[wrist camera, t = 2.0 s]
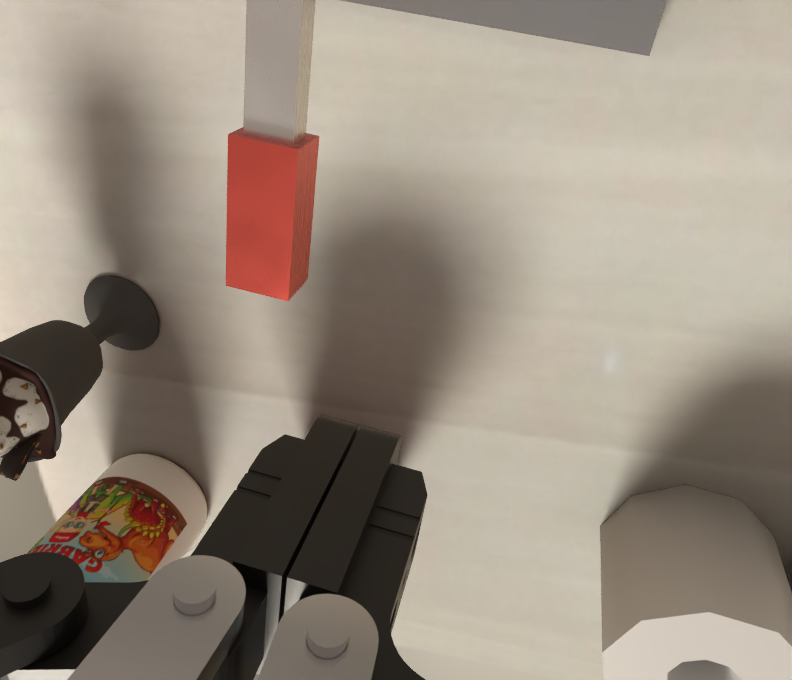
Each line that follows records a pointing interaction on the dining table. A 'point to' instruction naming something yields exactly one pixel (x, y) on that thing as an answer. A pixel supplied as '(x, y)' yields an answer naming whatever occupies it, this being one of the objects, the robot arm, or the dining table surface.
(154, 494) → the milk bottle
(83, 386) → the sundae
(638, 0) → the valve stand
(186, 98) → the dining table surface
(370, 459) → the robot arm
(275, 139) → the valve lever
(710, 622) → the toilet tissue
